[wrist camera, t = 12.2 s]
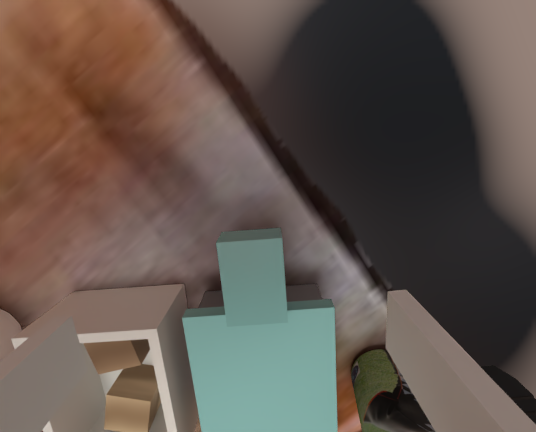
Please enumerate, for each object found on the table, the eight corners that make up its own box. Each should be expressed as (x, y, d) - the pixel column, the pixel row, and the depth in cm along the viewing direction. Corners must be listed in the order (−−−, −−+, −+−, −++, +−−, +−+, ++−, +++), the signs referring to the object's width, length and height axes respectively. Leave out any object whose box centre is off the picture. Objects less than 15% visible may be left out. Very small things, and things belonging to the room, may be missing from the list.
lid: (176, 233, 22) (162, 246, 19) (327, 221, 21) (336, 233, 18) (210, 441, 27) (204, 477, 24) (333, 434, 26) (341, 469, 24)
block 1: (106, 309, 28) (79, 336, 24) (144, 300, 27) (124, 326, 24) (121, 343, 29) (98, 374, 25) (158, 334, 28) (141, 364, 24)
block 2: (127, 361, 29) (106, 394, 25) (166, 367, 29) (150, 401, 25) (125, 392, 30) (104, 429, 26) (162, 398, 30) (147, 435, 26)
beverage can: (393, 395, 31) (468, 546, 19) (329, 381, 30) (367, 527, 19) (414, 348, 29) (510, 481, 18) (348, 332, 29) (401, 458, 17)
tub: (73, 291, 28) (11, 338, 21) (183, 283, 28) (156, 328, 21) (104, 404, 31) (59, 477, 24) (202, 398, 31) (184, 469, 24)
